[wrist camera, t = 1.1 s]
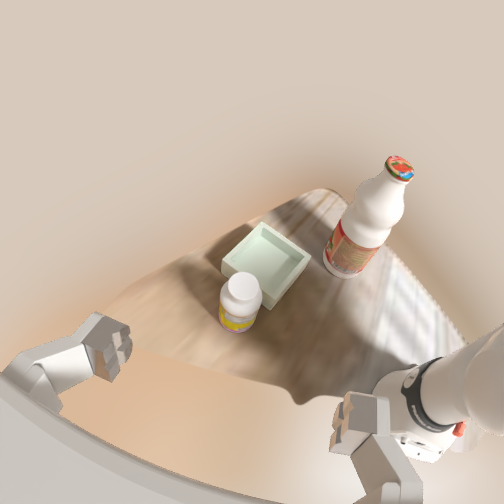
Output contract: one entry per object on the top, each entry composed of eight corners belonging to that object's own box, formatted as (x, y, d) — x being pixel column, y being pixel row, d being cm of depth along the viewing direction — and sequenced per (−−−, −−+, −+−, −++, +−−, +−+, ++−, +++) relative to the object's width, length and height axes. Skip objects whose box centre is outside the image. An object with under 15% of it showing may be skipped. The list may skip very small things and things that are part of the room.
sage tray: (304, 269, 65) (311, 256, 61) (270, 310, 59) (275, 299, 55) (258, 235, 68) (262, 221, 64) (220, 272, 62) (222, 259, 58)
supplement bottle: (227, 294, 60) (232, 258, 49) (260, 308, 59) (272, 275, 48) (211, 324, 56) (213, 294, 45) (246, 339, 55) (256, 313, 45)
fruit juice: (335, 286, 64) (401, 193, 40) (313, 249, 68) (362, 148, 45) (369, 271, 67) (437, 183, 43) (347, 237, 71) (401, 143, 48)
